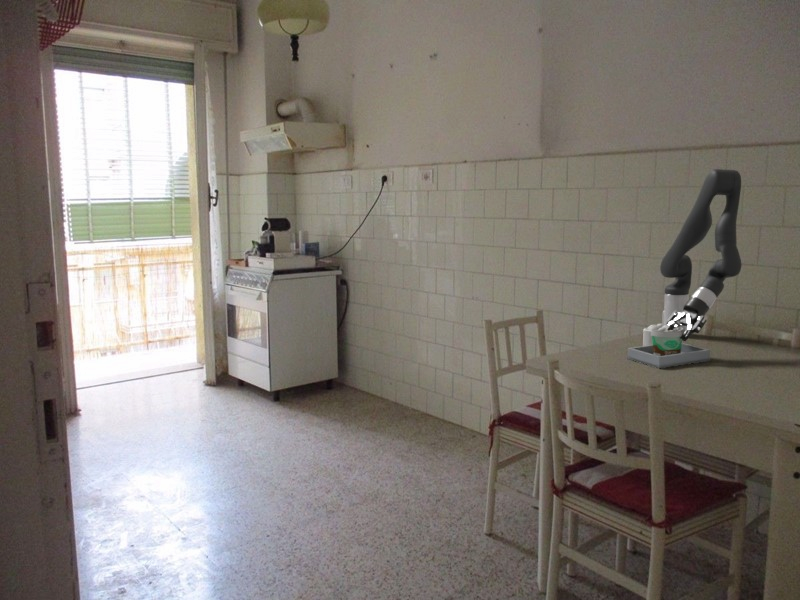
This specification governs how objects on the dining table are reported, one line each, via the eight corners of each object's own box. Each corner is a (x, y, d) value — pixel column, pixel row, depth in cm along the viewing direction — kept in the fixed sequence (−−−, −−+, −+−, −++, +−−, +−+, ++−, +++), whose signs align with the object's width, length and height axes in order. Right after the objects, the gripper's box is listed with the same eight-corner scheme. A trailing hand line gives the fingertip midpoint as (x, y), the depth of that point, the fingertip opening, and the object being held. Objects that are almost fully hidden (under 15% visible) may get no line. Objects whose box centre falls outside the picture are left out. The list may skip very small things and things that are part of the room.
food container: (660, 361, 232) (660, 332, 230) (649, 357, 238) (650, 329, 236) (691, 358, 234) (692, 330, 233) (680, 354, 240) (681, 326, 239)
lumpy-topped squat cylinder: (681, 350, 250) (682, 328, 249) (644, 350, 253) (645, 327, 252) (676, 344, 260) (676, 322, 259) (641, 344, 263) (641, 322, 262)
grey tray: (627, 359, 240) (627, 348, 240) (676, 352, 248) (676, 341, 247) (659, 368, 226) (659, 357, 225) (709, 361, 233) (710, 349, 233)
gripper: (679, 293, 244) (653, 327, 242) (710, 298, 231) (683, 334, 229) (690, 306, 247) (665, 340, 245) (721, 312, 234) (694, 347, 231)
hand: (673, 337), depth 237 cm, fingers open, 8 cm apart
